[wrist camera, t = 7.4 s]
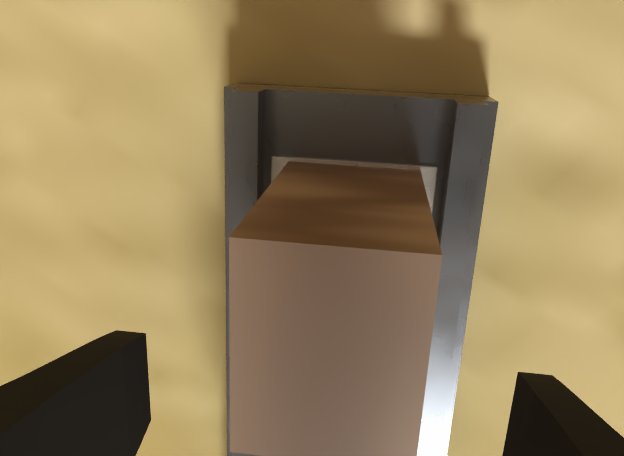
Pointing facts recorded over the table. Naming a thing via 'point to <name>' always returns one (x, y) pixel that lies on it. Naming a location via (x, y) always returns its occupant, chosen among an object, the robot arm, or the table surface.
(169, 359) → the table surface
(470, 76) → the table surface
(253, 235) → the walnut finger
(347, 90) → the rail
